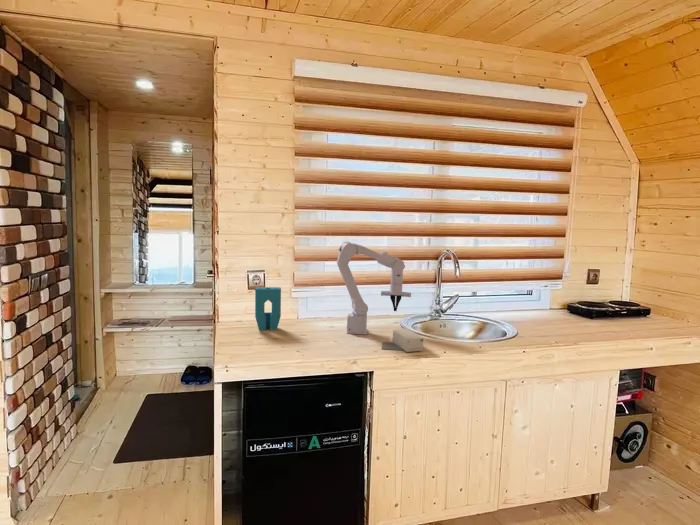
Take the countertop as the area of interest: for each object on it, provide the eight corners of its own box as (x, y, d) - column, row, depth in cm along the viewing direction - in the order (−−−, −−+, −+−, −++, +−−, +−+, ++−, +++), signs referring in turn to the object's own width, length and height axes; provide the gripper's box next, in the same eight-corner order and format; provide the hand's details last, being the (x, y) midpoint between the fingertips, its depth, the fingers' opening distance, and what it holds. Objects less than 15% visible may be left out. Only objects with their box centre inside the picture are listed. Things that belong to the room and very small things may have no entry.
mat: (381, 349, 197) (381, 348, 197) (382, 342, 207) (382, 341, 207) (414, 351, 196) (414, 350, 196) (413, 344, 205) (413, 343, 205)
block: (280, 327, 226) (280, 287, 224) (280, 330, 221) (281, 289, 219) (255, 327, 224) (255, 287, 222) (255, 330, 219) (255, 289, 217)
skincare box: (392, 341, 207) (405, 353, 193) (392, 329, 206) (405, 339, 192) (409, 340, 209) (423, 351, 195) (410, 328, 209) (424, 338, 194)
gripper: (411, 282, 225) (410, 309, 227) (381, 281, 227) (380, 308, 229) (411, 285, 218) (410, 313, 220) (381, 283, 220) (380, 311, 222)
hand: (395, 310), depth 224 cm, fingers closed
